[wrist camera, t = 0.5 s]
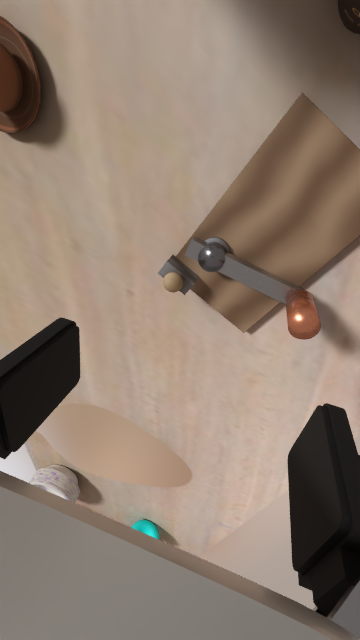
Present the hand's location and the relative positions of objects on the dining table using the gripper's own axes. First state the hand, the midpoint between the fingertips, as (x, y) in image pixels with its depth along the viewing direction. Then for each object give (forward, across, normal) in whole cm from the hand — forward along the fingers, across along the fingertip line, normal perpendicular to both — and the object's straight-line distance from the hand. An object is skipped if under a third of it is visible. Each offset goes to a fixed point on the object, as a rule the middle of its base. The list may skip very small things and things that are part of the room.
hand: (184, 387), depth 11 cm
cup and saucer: (+33, +36, -11) cm, 50 cm away
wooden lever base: (+33, -3, +1) cm, 34 cm away
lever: (+31, -2, +5) cm, 31 cm away
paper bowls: (+36, +34, +87) cm, 100 cm away
